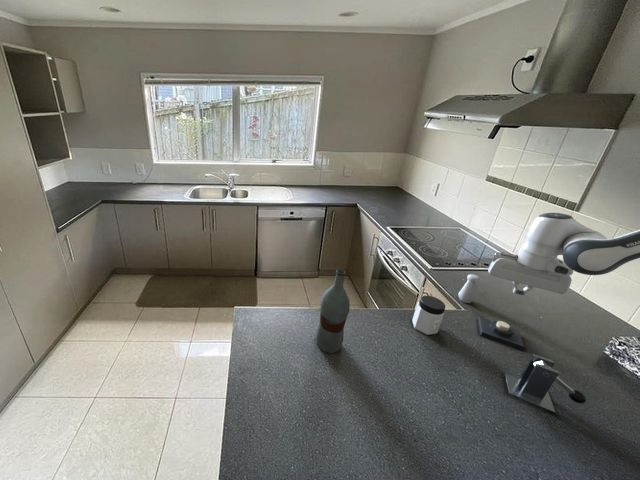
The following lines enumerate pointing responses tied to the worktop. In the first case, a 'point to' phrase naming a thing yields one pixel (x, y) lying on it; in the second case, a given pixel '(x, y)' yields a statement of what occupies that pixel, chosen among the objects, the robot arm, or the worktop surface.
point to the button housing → (500, 334)
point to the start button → (502, 326)
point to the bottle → (333, 315)
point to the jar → (428, 315)
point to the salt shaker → (469, 289)
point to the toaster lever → (567, 387)
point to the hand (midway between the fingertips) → (518, 293)
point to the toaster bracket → (534, 383)
